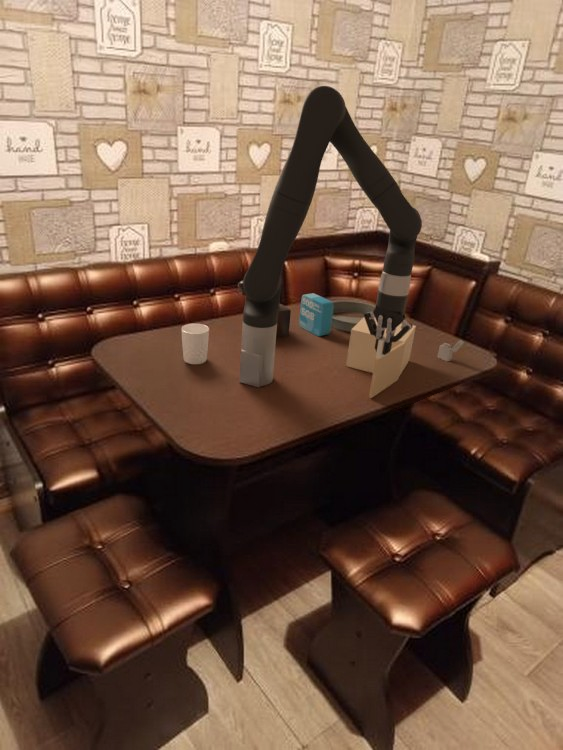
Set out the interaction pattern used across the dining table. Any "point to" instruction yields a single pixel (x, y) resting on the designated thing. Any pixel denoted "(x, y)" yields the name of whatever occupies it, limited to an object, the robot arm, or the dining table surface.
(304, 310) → the data package
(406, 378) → the dining table surface
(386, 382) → the beige wooden slab
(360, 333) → the carton
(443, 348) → the lighter
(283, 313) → the pepper mill
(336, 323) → the cake pan
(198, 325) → the white cup
